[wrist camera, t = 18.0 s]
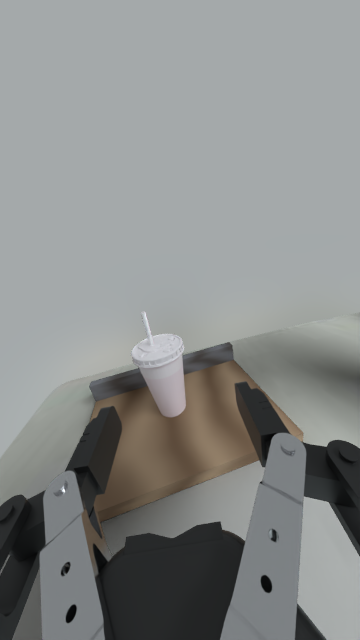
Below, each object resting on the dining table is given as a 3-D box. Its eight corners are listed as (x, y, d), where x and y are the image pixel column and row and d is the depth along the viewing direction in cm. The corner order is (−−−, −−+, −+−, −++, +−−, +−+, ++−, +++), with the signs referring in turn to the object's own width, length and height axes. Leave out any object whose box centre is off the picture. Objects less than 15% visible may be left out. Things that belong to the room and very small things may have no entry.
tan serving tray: (230, 362, 34) (228, 341, 33) (302, 443, 19) (304, 411, 18) (100, 401, 31) (91, 380, 30) (65, 536, 16) (42, 506, 14)
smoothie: (155, 390, 29) (130, 307, 24) (196, 387, 28) (178, 299, 23) (144, 428, 23) (108, 326, 18) (195, 425, 22) (171, 317, 17)
